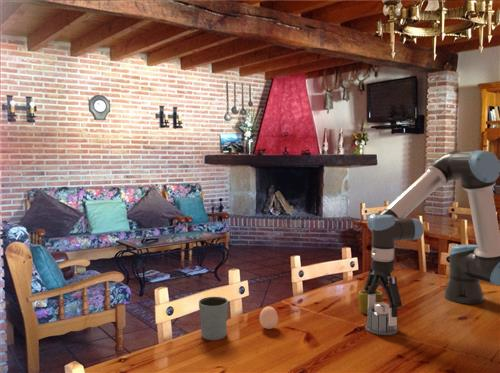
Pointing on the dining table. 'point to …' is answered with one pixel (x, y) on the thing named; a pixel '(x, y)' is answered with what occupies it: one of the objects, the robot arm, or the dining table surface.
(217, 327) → the grey cup
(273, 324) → the egg
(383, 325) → the ring
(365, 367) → the dining table surface
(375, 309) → the piston post
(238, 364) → the dining table surface
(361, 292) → the mug
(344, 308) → the dining table surface
